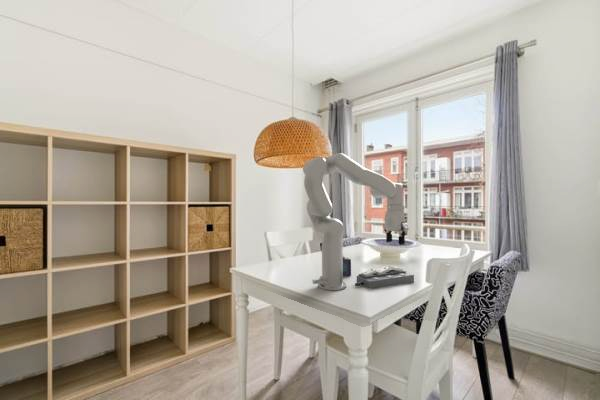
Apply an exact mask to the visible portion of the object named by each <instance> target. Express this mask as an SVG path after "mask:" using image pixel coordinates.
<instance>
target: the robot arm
mask: <svg viewBox="0 0 600 400" xmlns="http://www.w3.org/2000/svg"><path fill="white" fill-rule="evenodd" d="M302 171H303V173H304V180H303V183H304V185H303V186H304V189H305V192H306V195H307V198H308V200H307V203H306V211H307V215H308V216H309V219H310V221H311V223H312V225H313V227H314V231H316V232H317V234H319V236H321V237H322V243H321V275H320V276H319V278H316V279H312V281H311V282H312V284H313V285H316V284H317V285H318V287H319V288H320V289H323V290H326V291H340V290H341V291H342V290H344V289H346V287H347V283H346V282H344V276H343V257H344V254H343V250H344V249H343V245H344V244H343V243H344V242H343V241H344V235H345V226H344V224H343V222H342V221H341V220H340V219H338V218H336V217H335V218H334V217H331V216H330V215H331V214H332V213H333V209H334V208H333V204H332V202H331V199H330V197H329V195H328V193H327V190H326V188H325V185H324V177H325V176H327V175H331V174H334V173H335V174H336V173H338V174H340V175H341V176H343V177H344V178H346V179H348V180H349V181H351V182H352V183H354V184H357V185H359V186H365V187H368V188H370V189H369V192H370V195H371V196H372V197H373V198H376V199H386V210H385V213H384V215H385V216H384V223H383V225H382V228H383V230H384V233H385V236H386V237H385V238H386V241H385V242H386V243H392V242H393V233H392V232H397V233H398V235H399V236H398V245H405V241H406V240H405V239H406V238H405V237H406V235H407V233H408V231H409V227H408V226H407V225H406V218H405V212H404V201H403V200H404V198H403V197H404V196H403V193H404V191H403V184H402V183H399V182H398V183H397V182H393V181H392V180H390V179H389V178H387V177H385V176H384V175H382V174H380V173H378V172H375V171H373V170H371V169H368V168H366V167H365V166H364V167H363V166H362V165H360V164H359V163H358V162H356V161H355V160H353V159H352V158H350V157H349V156H347V155H346V154H344V153H342V152H337V153H334V154H332V155H329V156H326V157H322V156H316V157H313V158H311V159H308V160H306V162H305V163H304V164H303V166H302Z"/></svg>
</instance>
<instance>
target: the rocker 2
mask: <svg viewBox="0 0 600 400" xmlns="http://www.w3.org/2000/svg"><path fill="white" fill-rule="evenodd" d="M388 267H389V266H388ZM388 267H387V266H383V267H380V268H378V269H375V270H376V273H377V274H379V275H380V274H383V273H386V272H388V271H390V270H391V269H390V268H388Z"/></svg>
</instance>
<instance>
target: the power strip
mask: <svg viewBox="0 0 600 400" xmlns="http://www.w3.org/2000/svg"><path fill="white" fill-rule="evenodd" d="M414 282H415V274H413V273H409V272H407V270H404V269H403V271H396V270H392V269H390V271H388V272H386V273H383V274H380V275H379V274H377V273H374V274H372V275H370V276H364V275H362V273H358V275H356V282H355V283H354V286H355V287H358V286H362V287H364V288H366V289H369V290H374V289H381V288H385V287H392V286H396V285H397V286H398V285H404V284H405V285H406V284H411V283H414Z"/></svg>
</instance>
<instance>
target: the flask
mask: <svg viewBox="0 0 600 400" xmlns="http://www.w3.org/2000/svg"><path fill="white" fill-rule="evenodd" d="M343 277H352V260H351V258H349V257H345V256H343Z"/></svg>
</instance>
